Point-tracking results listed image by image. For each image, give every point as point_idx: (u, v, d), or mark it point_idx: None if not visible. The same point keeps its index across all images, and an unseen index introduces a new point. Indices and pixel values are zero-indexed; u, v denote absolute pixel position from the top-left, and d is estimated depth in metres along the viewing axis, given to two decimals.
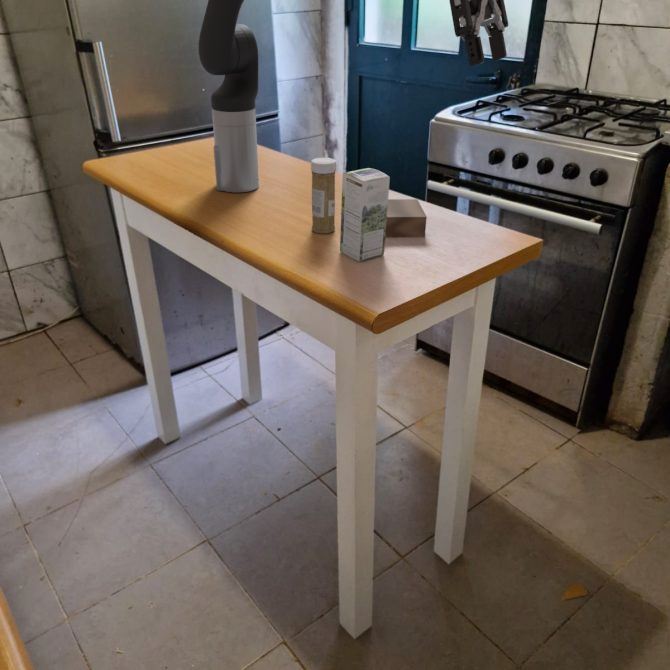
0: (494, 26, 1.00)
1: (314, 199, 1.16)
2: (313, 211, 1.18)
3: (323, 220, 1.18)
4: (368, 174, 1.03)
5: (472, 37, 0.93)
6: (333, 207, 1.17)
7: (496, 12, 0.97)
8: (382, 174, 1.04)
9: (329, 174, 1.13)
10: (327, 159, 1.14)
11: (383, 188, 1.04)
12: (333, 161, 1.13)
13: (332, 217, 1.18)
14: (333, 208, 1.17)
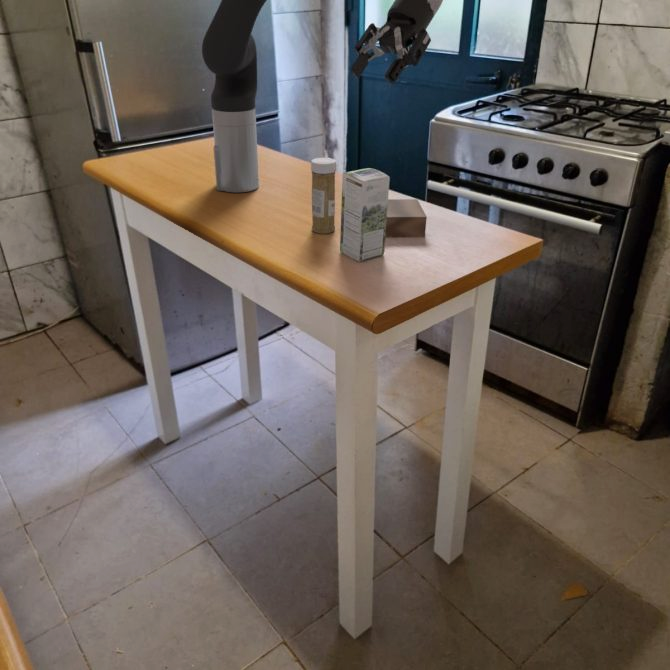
0: (366, 52, 1.17)
1: (314, 199, 1.16)
2: (313, 211, 1.18)
3: (323, 220, 1.18)
4: (368, 174, 1.03)
5: (405, 65, 1.11)
6: (333, 207, 1.17)
7: (384, 52, 1.17)
8: (382, 174, 1.04)
9: (329, 174, 1.13)
10: (327, 159, 1.14)
11: (383, 188, 1.04)
12: (333, 161, 1.13)
13: (332, 217, 1.18)
14: (333, 208, 1.17)
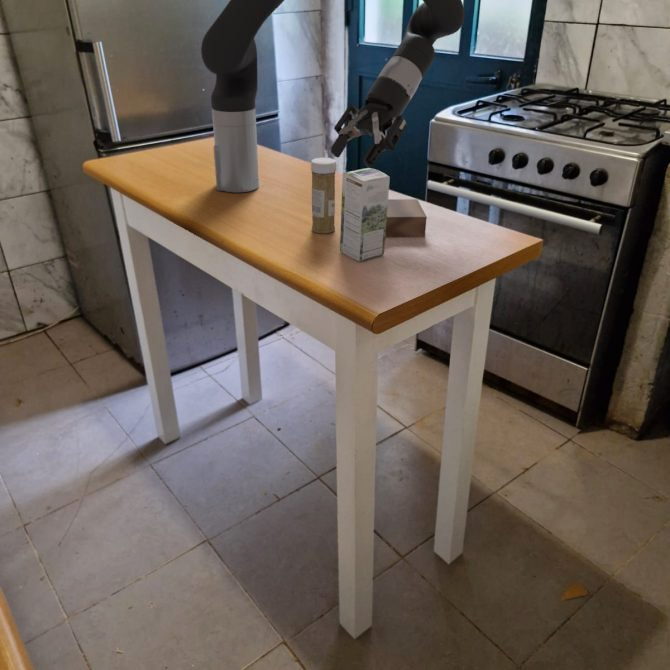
0: None
1: (314, 199, 1.16)
2: (313, 211, 1.18)
3: (323, 220, 1.18)
4: (368, 174, 1.03)
5: (382, 150, 1.16)
6: (333, 207, 1.17)
7: (363, 133, 1.22)
8: (382, 174, 1.04)
9: (329, 174, 1.13)
10: (327, 159, 1.14)
11: (383, 188, 1.04)
12: (333, 161, 1.13)
13: (332, 217, 1.18)
14: (333, 208, 1.17)
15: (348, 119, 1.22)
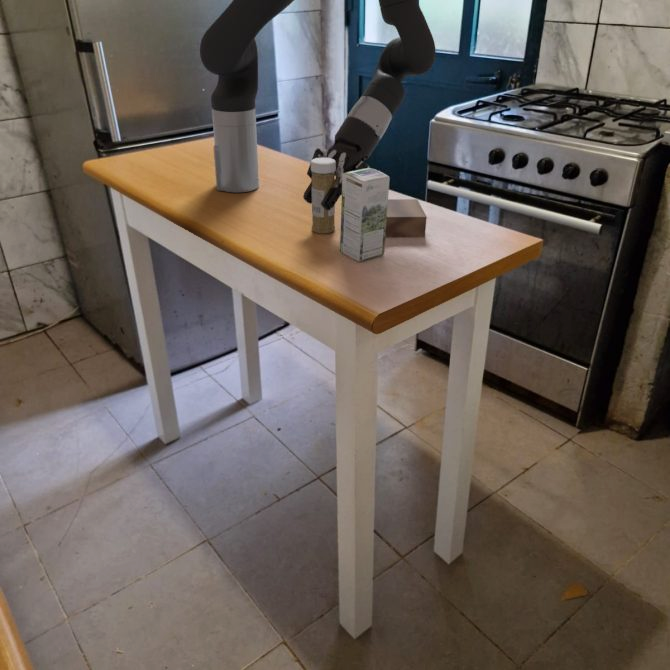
0: None
1: (314, 199, 1.16)
2: (313, 211, 1.18)
3: (323, 220, 1.18)
4: (368, 174, 1.03)
5: (341, 193, 1.15)
6: (333, 207, 1.17)
7: None
8: (382, 174, 1.04)
9: (329, 174, 1.13)
10: (327, 159, 1.14)
11: (383, 188, 1.04)
12: (333, 161, 1.13)
13: (332, 217, 1.18)
14: (333, 208, 1.17)
15: None
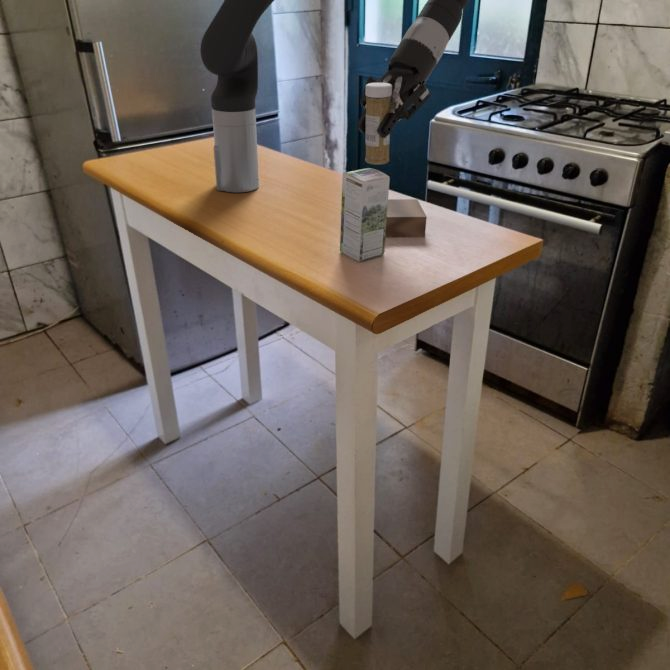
0: None
1: (369, 127, 1.11)
2: (367, 140, 1.12)
3: (378, 149, 1.12)
4: (368, 174, 1.03)
5: (397, 119, 1.09)
6: (388, 135, 1.12)
7: None
8: (382, 174, 1.04)
9: (385, 98, 1.08)
10: (382, 83, 1.09)
11: (383, 188, 1.04)
12: (389, 84, 1.08)
13: (387, 146, 1.12)
14: (388, 136, 1.12)
15: None
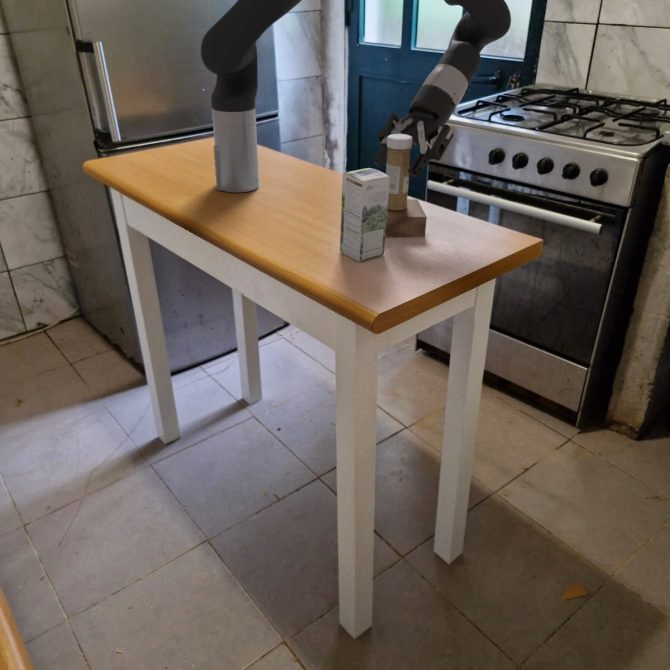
0: None
1: (389, 176, 1.16)
2: None
3: (397, 197, 1.17)
4: (368, 174, 1.03)
5: (428, 160, 1.13)
6: (407, 184, 1.17)
7: None
8: (382, 174, 1.04)
9: (406, 150, 1.13)
10: (403, 135, 1.14)
11: (383, 188, 1.04)
12: (410, 137, 1.13)
13: (406, 194, 1.18)
14: (407, 185, 1.17)
15: (391, 128, 1.19)
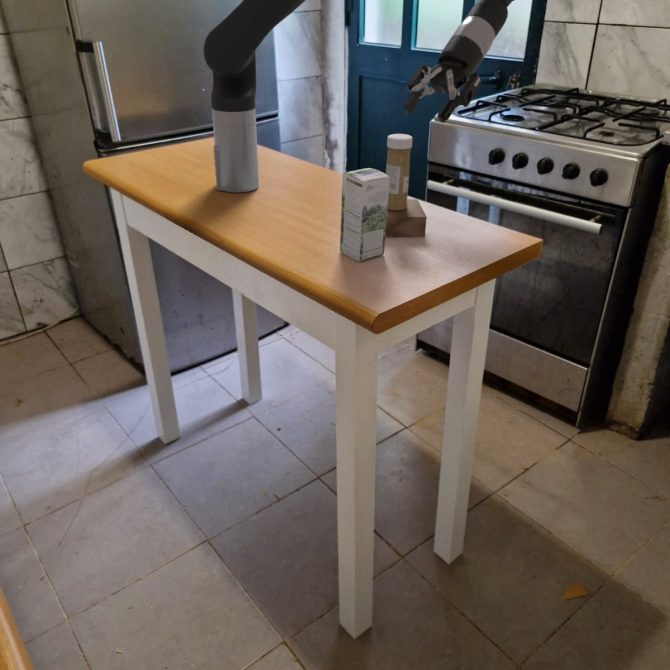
0: None
1: (389, 175, 1.16)
2: None
3: (397, 197, 1.17)
4: (368, 174, 1.03)
5: (456, 106, 1.19)
6: (407, 184, 1.17)
7: (434, 91, 1.25)
8: (382, 174, 1.04)
9: (406, 150, 1.13)
10: (403, 135, 1.14)
11: (383, 188, 1.04)
12: (410, 137, 1.13)
13: (406, 194, 1.18)
14: (407, 185, 1.17)
15: (420, 77, 1.25)
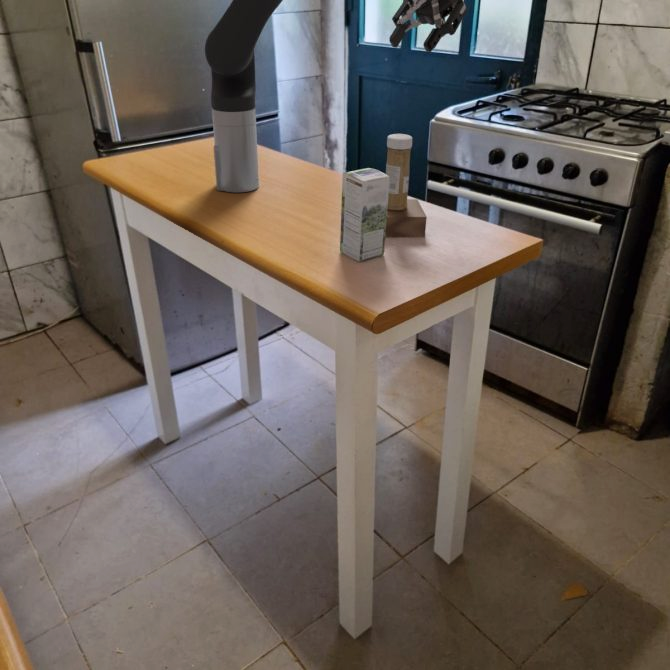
0: None
1: (389, 175, 1.16)
2: None
3: (397, 197, 1.17)
4: (368, 174, 1.03)
5: (442, 34, 1.17)
6: (407, 184, 1.17)
7: (420, 23, 1.23)
8: (382, 174, 1.04)
9: (406, 150, 1.13)
10: (403, 135, 1.14)
11: (383, 188, 1.04)
12: (410, 137, 1.13)
13: (406, 194, 1.18)
14: (407, 185, 1.17)
15: (406, 10, 1.24)
